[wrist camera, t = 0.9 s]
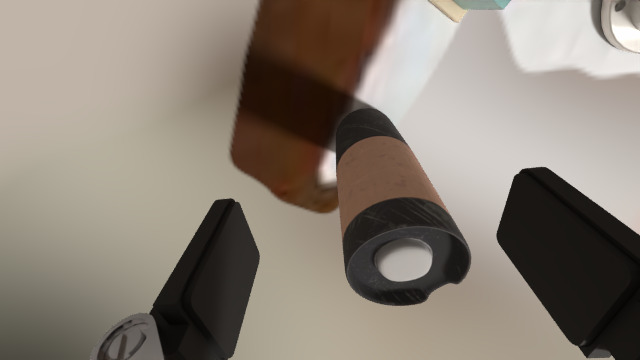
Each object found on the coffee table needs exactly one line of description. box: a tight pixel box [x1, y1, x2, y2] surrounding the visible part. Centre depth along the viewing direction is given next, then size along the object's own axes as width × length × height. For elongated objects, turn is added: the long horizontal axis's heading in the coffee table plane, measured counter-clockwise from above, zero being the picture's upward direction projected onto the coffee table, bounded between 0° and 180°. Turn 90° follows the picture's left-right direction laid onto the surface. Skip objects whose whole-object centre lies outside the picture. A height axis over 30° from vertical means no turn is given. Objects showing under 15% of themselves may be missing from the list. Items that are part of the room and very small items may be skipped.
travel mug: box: [336, 109, 471, 306], centre depth 24 cm, size 8×8×20 cm
